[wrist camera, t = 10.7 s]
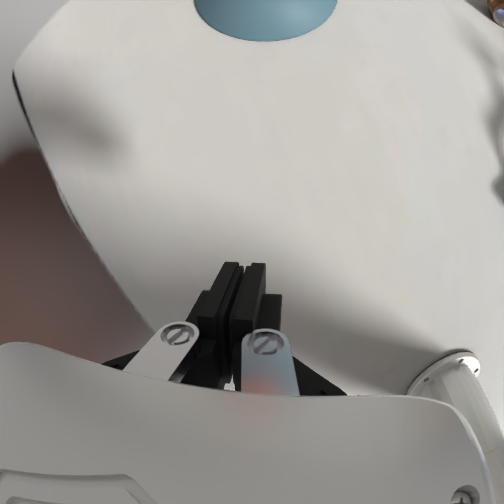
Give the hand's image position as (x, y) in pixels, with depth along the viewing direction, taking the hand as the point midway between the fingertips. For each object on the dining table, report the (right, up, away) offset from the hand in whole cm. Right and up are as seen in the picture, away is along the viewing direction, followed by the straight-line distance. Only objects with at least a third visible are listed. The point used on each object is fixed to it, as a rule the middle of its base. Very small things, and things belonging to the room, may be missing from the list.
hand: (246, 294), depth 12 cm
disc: (+1, +25, +4) cm, 26 cm away
